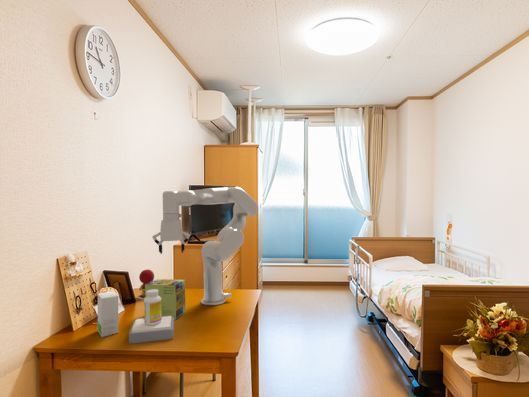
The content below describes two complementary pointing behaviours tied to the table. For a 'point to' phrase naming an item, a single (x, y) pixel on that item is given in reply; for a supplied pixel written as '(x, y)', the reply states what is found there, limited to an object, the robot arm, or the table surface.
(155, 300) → the supplement bottle
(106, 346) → the table surface
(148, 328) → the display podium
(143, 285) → the figurine
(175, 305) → the protein box
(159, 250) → the robot arm
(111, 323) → the skincare box
